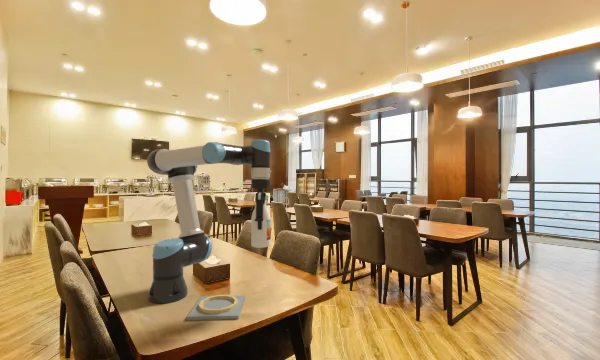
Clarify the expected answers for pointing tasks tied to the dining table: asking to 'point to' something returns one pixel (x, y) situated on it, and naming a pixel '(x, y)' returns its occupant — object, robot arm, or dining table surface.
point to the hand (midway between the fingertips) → (260, 235)
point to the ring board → (217, 307)
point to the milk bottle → (267, 228)
